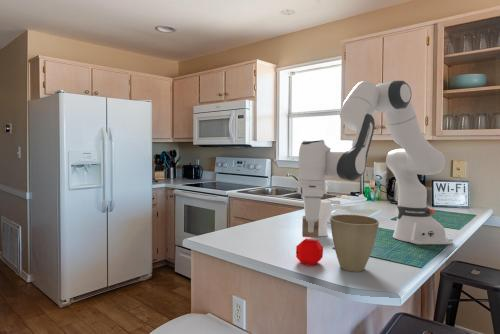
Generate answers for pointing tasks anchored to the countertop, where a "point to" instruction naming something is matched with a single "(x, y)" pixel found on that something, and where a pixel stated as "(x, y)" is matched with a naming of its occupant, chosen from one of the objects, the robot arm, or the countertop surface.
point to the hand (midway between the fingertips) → (310, 229)
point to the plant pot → (353, 240)
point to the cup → (324, 217)
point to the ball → (309, 251)
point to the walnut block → (305, 229)
